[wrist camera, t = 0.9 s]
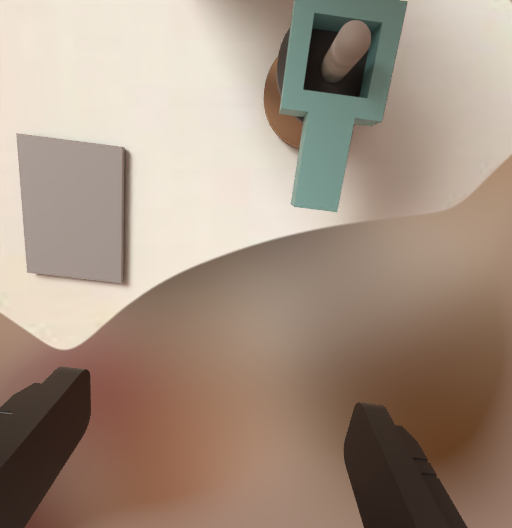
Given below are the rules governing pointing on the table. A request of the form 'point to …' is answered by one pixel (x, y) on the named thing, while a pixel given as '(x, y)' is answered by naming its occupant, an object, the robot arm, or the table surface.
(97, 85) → the table surface
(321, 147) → the teal square frame paddle
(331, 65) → the stand
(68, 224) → the mat
